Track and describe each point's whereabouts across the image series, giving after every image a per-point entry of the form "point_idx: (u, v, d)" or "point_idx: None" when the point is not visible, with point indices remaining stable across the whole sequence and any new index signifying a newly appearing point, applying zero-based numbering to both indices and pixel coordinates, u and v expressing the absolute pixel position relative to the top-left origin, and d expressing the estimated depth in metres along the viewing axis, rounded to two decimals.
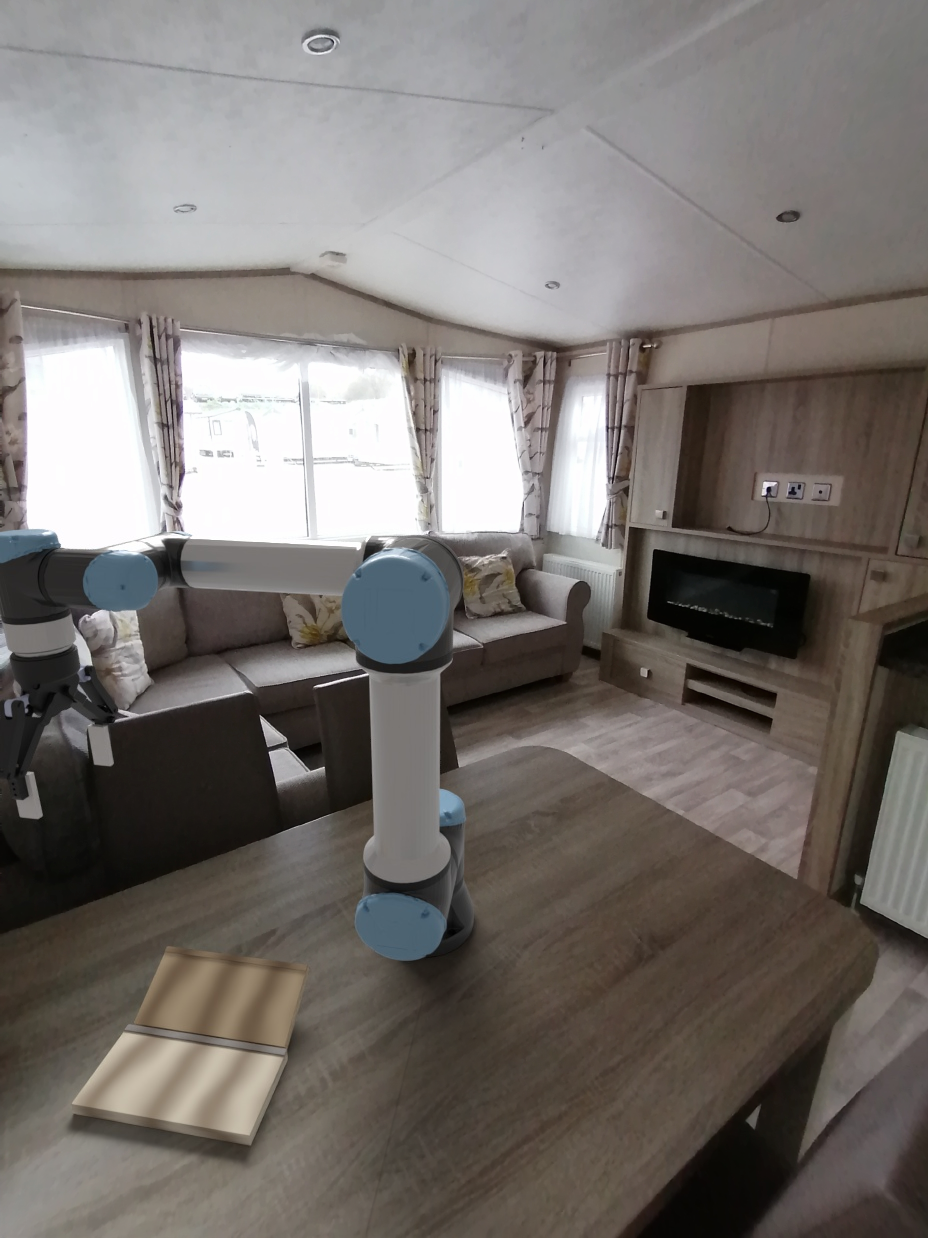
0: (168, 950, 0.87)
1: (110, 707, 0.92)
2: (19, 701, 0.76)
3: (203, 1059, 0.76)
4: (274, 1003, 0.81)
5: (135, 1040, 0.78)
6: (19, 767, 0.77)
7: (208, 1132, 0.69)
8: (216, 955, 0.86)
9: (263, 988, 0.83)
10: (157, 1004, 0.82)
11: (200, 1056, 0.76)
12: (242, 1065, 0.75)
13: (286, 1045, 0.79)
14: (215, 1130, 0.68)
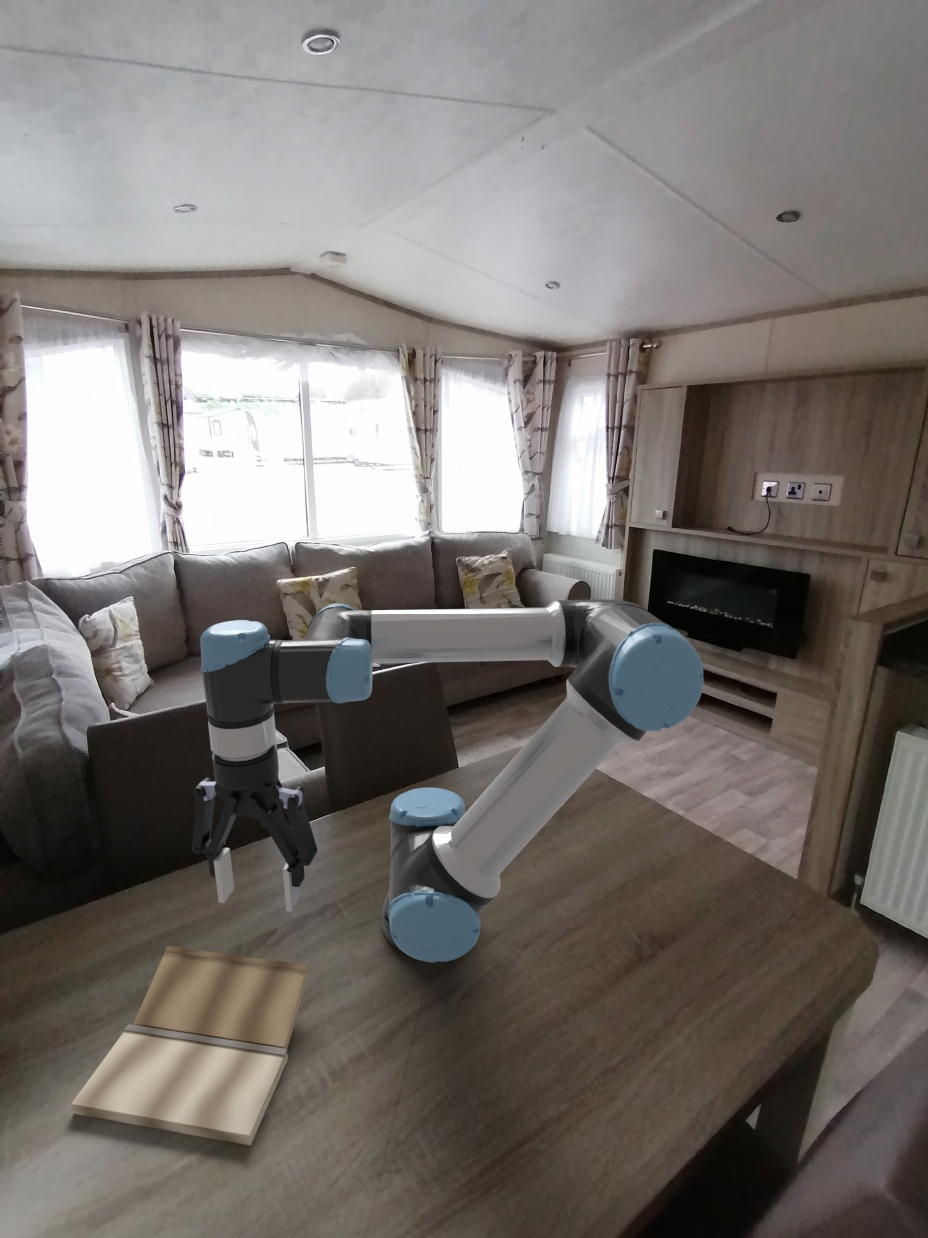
0: (168, 950, 0.87)
1: (300, 853, 0.76)
2: (196, 788, 0.76)
3: (203, 1059, 0.76)
4: (274, 1003, 0.81)
5: (135, 1040, 0.78)
6: (207, 849, 0.78)
7: (208, 1132, 0.69)
8: (216, 955, 0.86)
9: (263, 988, 0.83)
10: (157, 1004, 0.82)
11: (200, 1056, 0.76)
12: (242, 1065, 0.75)
13: (286, 1045, 0.79)
14: (215, 1130, 0.68)
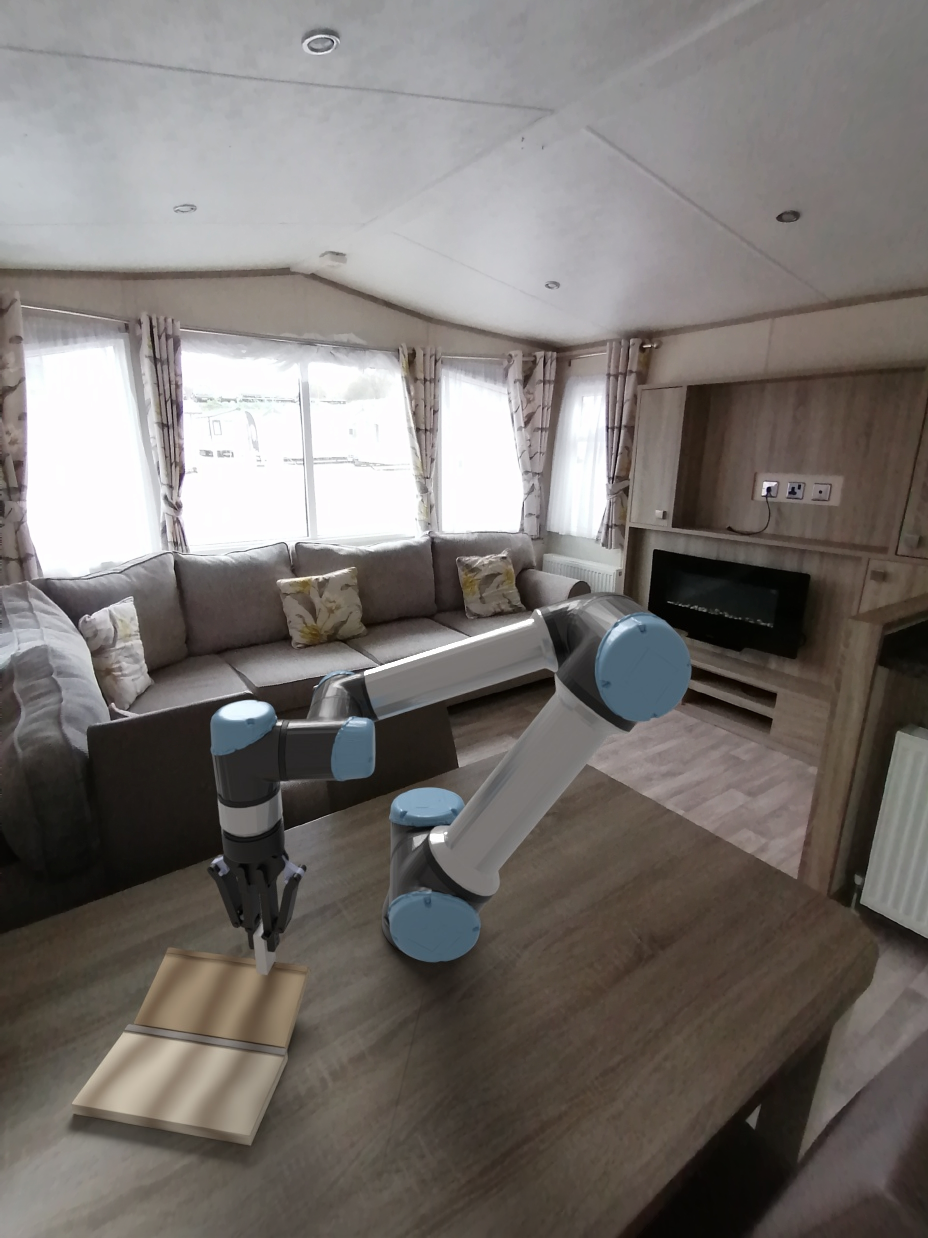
0: (169, 951, 0.87)
1: (278, 921, 0.80)
2: (209, 867, 0.79)
3: (203, 1059, 0.76)
4: (274, 1003, 0.81)
5: (135, 1040, 0.78)
6: None
7: (208, 1132, 0.69)
8: (217, 957, 0.86)
9: (264, 989, 0.83)
10: (158, 1005, 0.82)
11: (200, 1056, 0.76)
12: (242, 1065, 0.75)
13: (286, 1045, 0.79)
14: (215, 1130, 0.68)
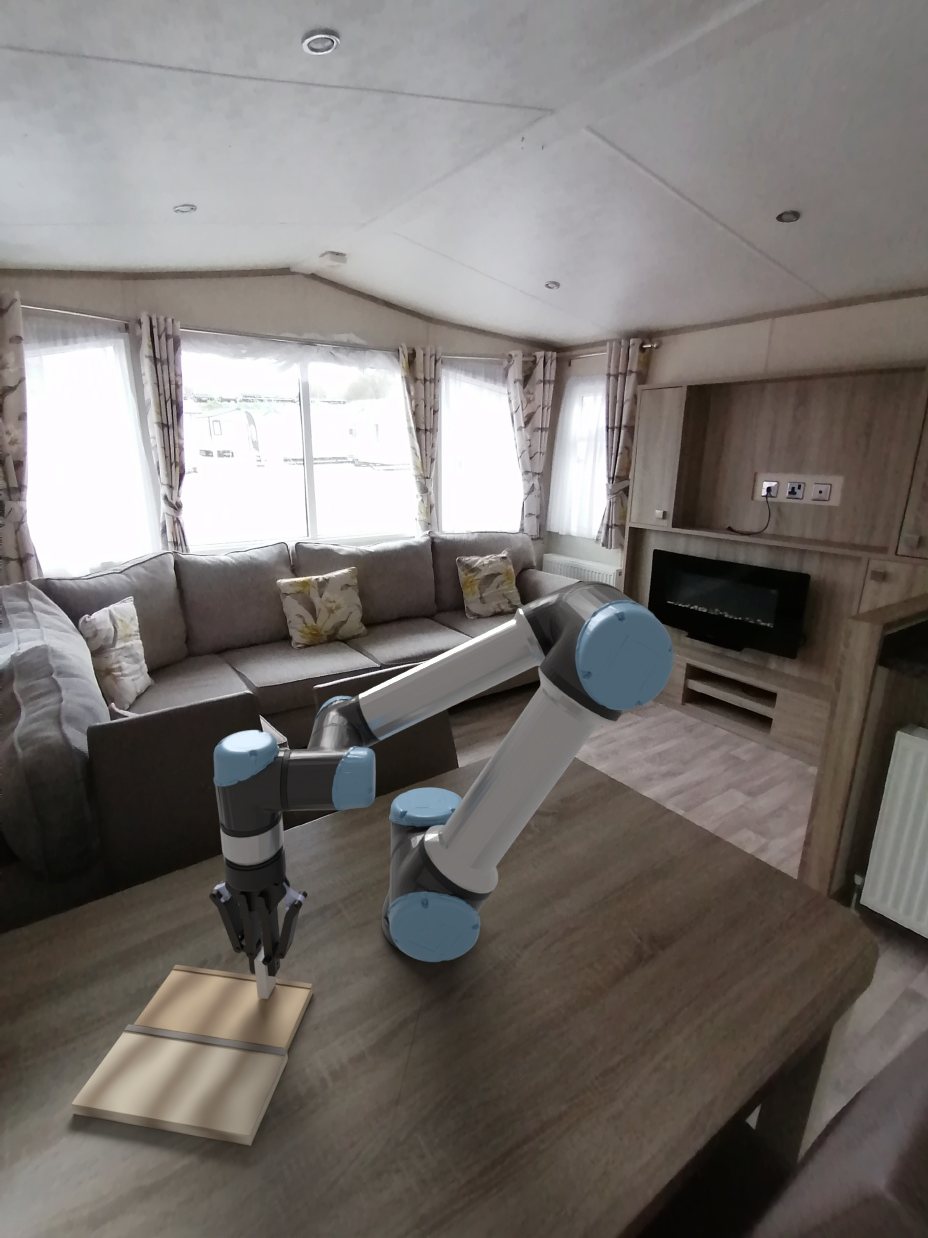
0: (176, 968, 0.89)
1: (279, 947, 0.81)
2: (211, 894, 0.80)
3: (203, 1059, 0.76)
4: (277, 1012, 0.82)
5: (135, 1040, 0.78)
6: None
7: (208, 1132, 0.69)
8: (223, 973, 0.88)
9: (267, 1000, 0.84)
10: (160, 1010, 0.83)
11: (200, 1056, 0.76)
12: (242, 1065, 0.75)
13: None
14: (215, 1130, 0.68)
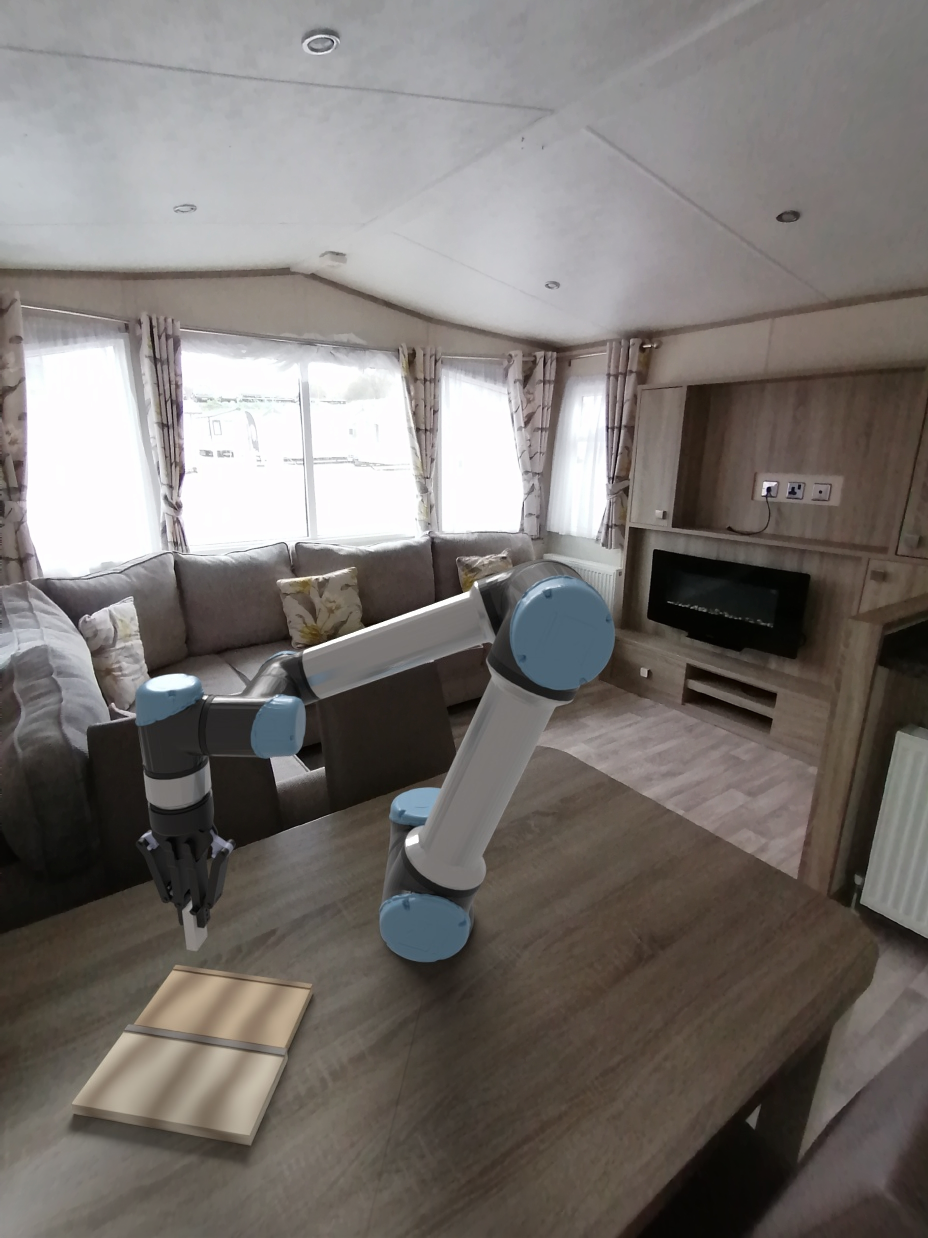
0: (176, 968, 0.89)
1: (207, 897, 0.80)
2: (137, 841, 0.79)
3: (203, 1059, 0.76)
4: (277, 1012, 0.82)
5: (135, 1040, 0.78)
6: None
7: (208, 1132, 0.69)
8: (223, 973, 0.88)
9: (267, 1001, 0.84)
10: (160, 1010, 0.83)
11: (200, 1056, 0.76)
12: (242, 1065, 0.75)
13: None
14: (215, 1130, 0.68)
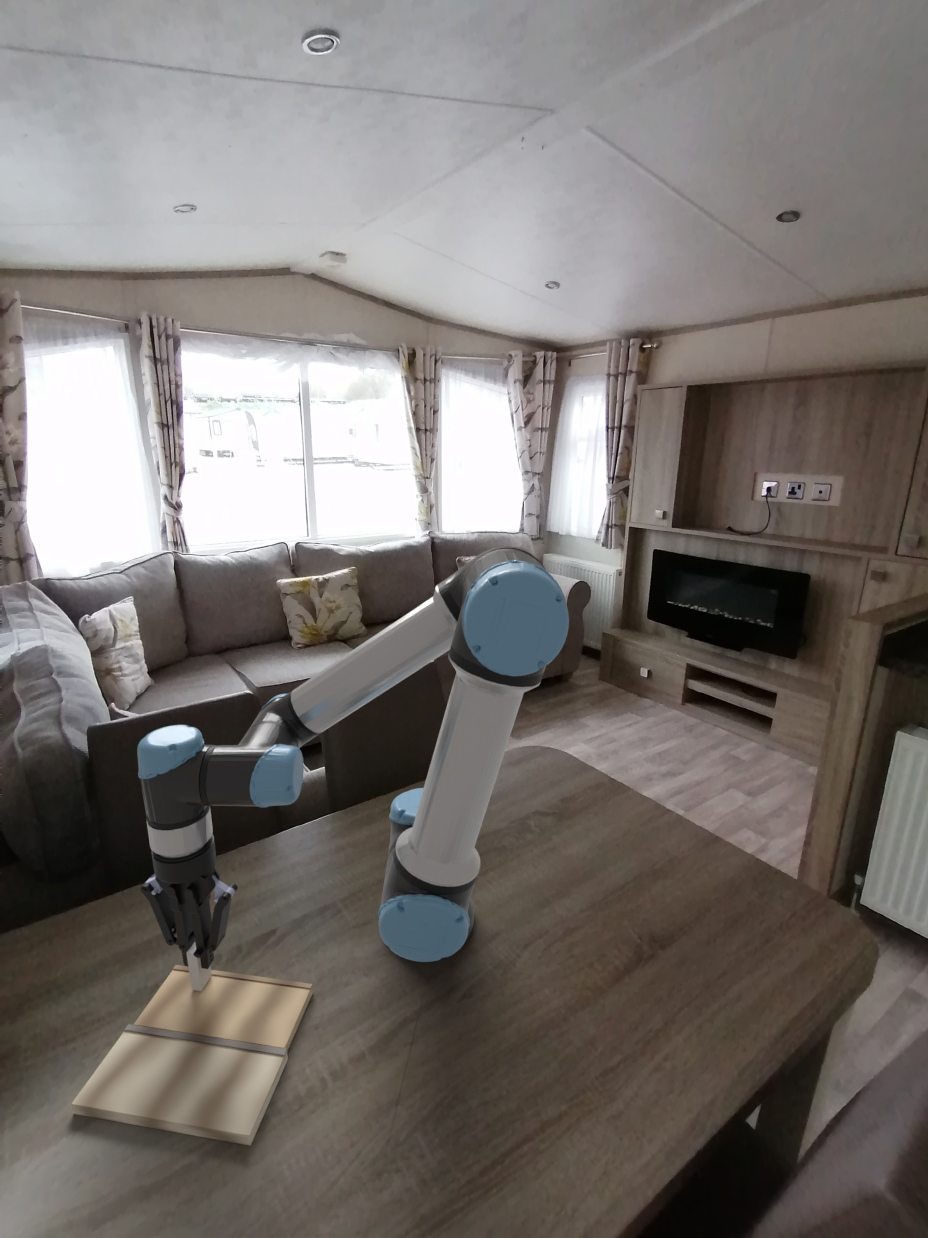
0: (176, 968, 0.89)
1: (210, 939, 0.82)
2: (142, 887, 0.82)
3: (203, 1059, 0.76)
4: (277, 1012, 0.82)
5: (135, 1040, 0.78)
6: None
7: (208, 1132, 0.69)
8: (223, 973, 0.88)
9: (267, 1001, 0.84)
10: (160, 1010, 0.83)
11: (200, 1056, 0.76)
12: (242, 1065, 0.75)
13: None
14: (215, 1130, 0.68)
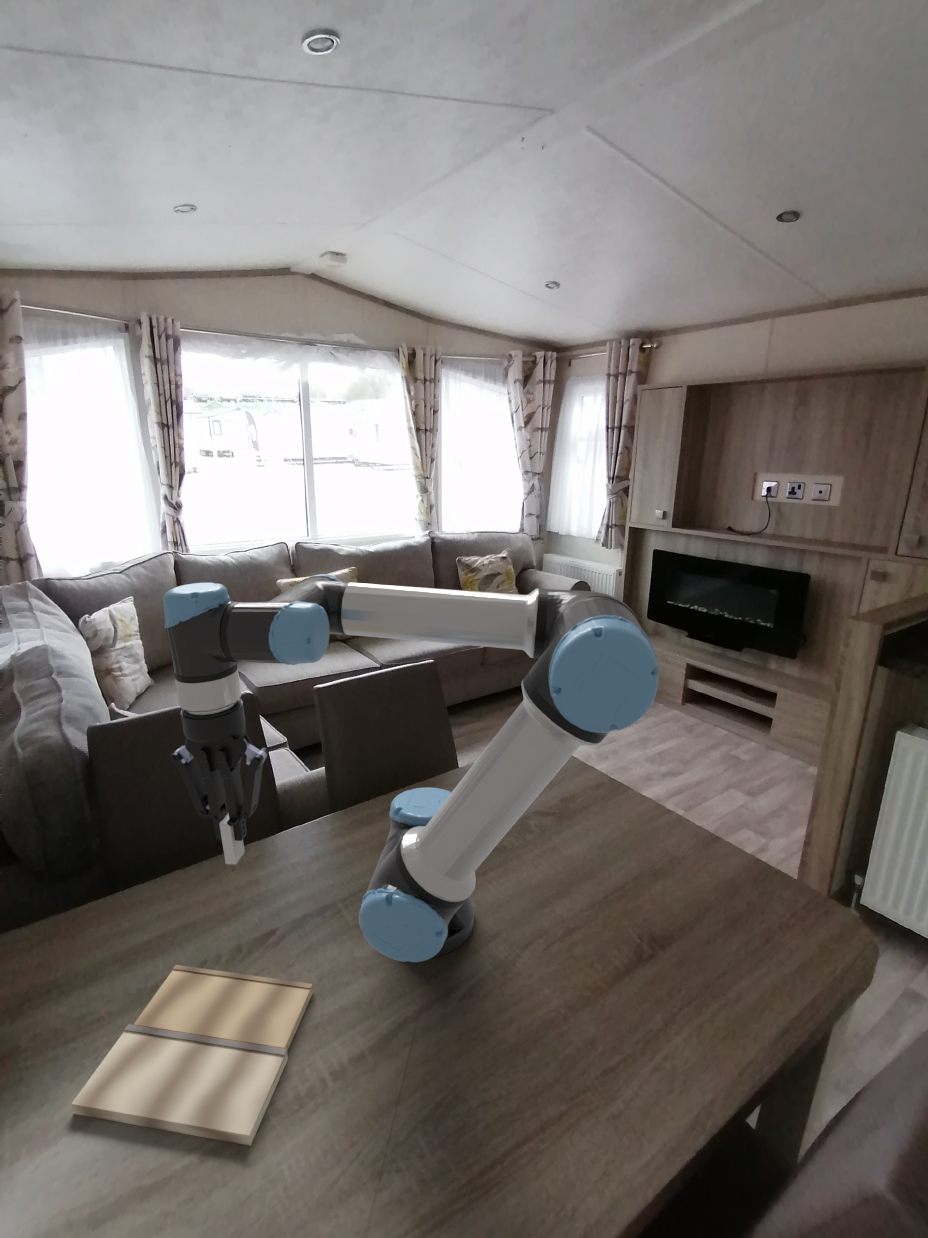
0: (176, 968, 0.89)
1: (243, 806, 0.81)
2: (171, 755, 0.80)
3: (203, 1059, 0.76)
4: (277, 1012, 0.82)
5: (135, 1040, 0.78)
6: None
7: (208, 1132, 0.69)
8: (223, 973, 0.88)
9: (267, 1001, 0.84)
10: (160, 1010, 0.83)
11: (200, 1056, 0.76)
12: (242, 1065, 0.75)
13: None
14: (215, 1130, 0.68)
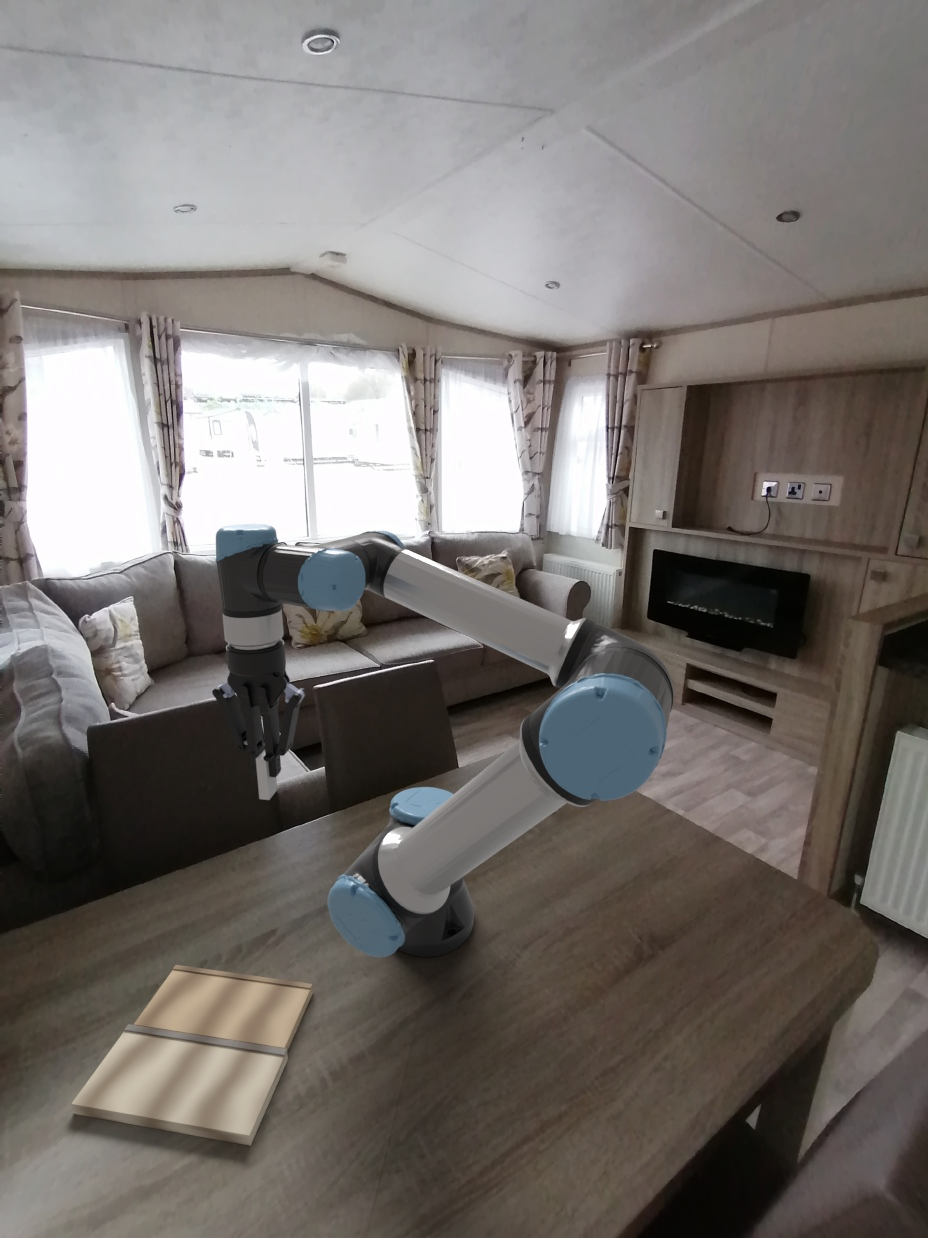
0: (176, 968, 0.89)
1: (280, 743, 0.84)
2: (214, 690, 0.84)
3: (203, 1059, 0.76)
4: (277, 1012, 0.82)
5: (135, 1040, 0.78)
6: None
7: (208, 1132, 0.69)
8: (223, 973, 0.88)
9: (267, 1001, 0.84)
10: (160, 1010, 0.83)
11: (200, 1056, 0.76)
12: (242, 1065, 0.75)
13: None
14: (215, 1130, 0.68)
